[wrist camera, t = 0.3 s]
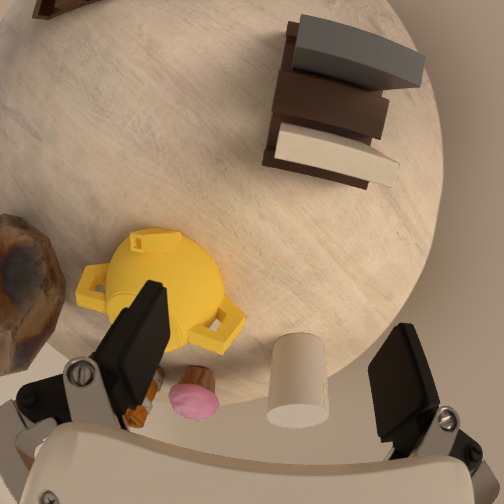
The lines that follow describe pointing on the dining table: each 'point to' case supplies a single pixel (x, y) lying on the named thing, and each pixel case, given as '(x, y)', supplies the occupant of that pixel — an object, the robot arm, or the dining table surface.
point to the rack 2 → (322, 112)
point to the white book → (334, 154)
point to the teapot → (174, 279)
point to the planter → (26, 293)
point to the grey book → (355, 56)
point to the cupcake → (195, 394)
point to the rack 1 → (57, 7)
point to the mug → (139, 416)
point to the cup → (298, 382)
